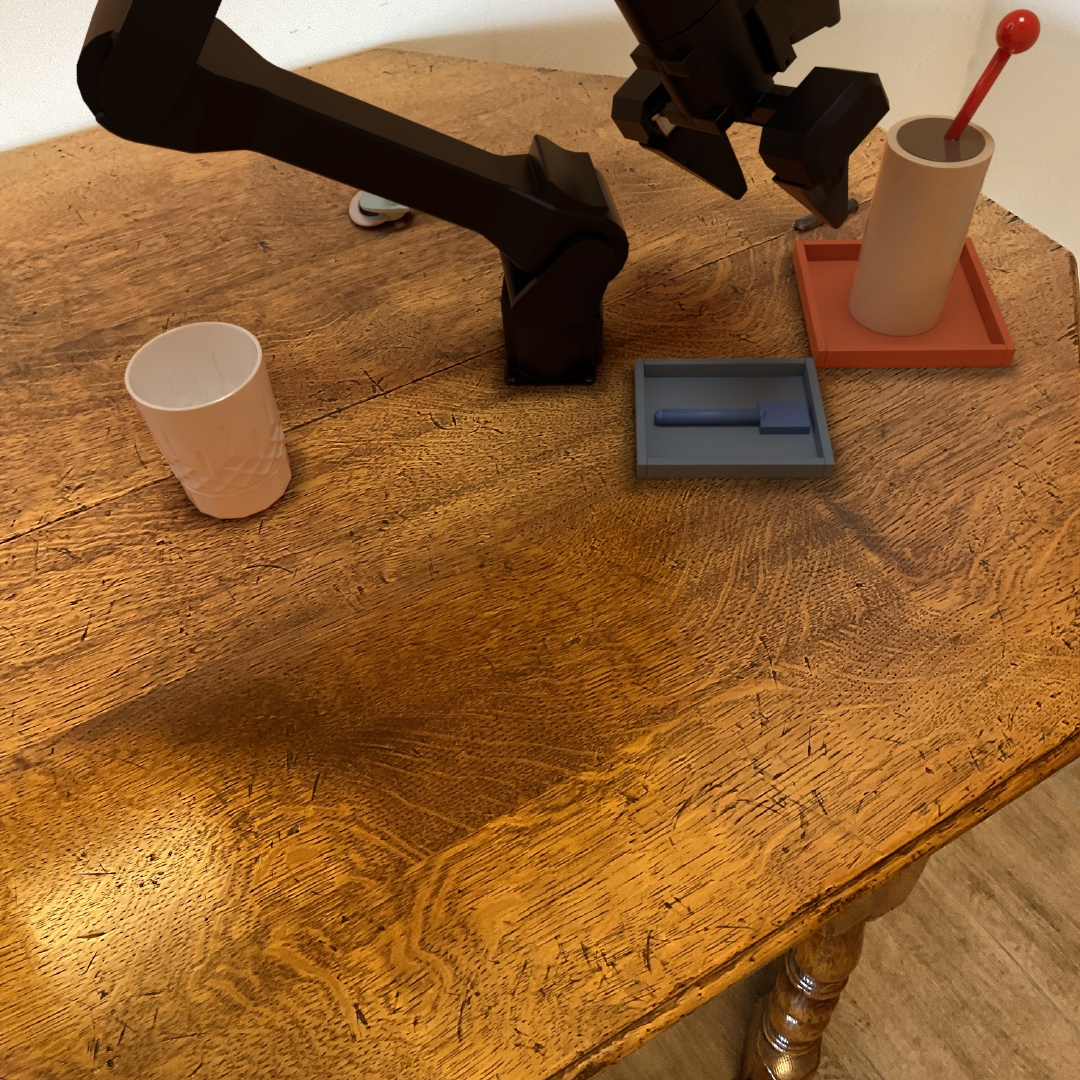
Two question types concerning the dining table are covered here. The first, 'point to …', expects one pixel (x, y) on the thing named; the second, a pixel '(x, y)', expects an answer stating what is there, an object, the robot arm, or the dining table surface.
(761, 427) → the blue spatula
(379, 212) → the pacifier
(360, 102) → the robot arm
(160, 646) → the dining table surface
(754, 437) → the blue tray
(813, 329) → the terracotta tray
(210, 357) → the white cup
